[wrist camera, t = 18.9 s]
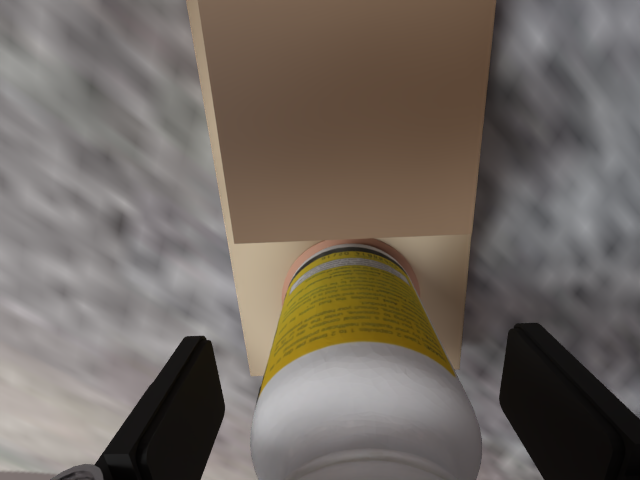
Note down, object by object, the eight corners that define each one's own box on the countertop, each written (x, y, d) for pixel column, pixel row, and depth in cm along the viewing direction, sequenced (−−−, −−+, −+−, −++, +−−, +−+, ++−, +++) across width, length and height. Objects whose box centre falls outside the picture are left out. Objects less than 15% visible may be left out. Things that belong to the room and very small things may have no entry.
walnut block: (407, 184, 12) (471, 234, 7) (277, 191, 13) (234, 243, 7) (412, 33, 11) (503, -68, 5) (263, 44, 11) (191, -42, 5)
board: (470, -21, 12) (499, -51, 10) (445, 342, 17) (460, 372, 15) (205, 4, 13) (180, -19, 10) (259, 349, 18) (249, 379, 16)
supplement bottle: (264, 270, 14) (129, 563, 5) (384, 219, 13) (518, 455, 4) (319, 366, 15) (300, 729, 6) (429, 326, 14) (604, 682, 5)
